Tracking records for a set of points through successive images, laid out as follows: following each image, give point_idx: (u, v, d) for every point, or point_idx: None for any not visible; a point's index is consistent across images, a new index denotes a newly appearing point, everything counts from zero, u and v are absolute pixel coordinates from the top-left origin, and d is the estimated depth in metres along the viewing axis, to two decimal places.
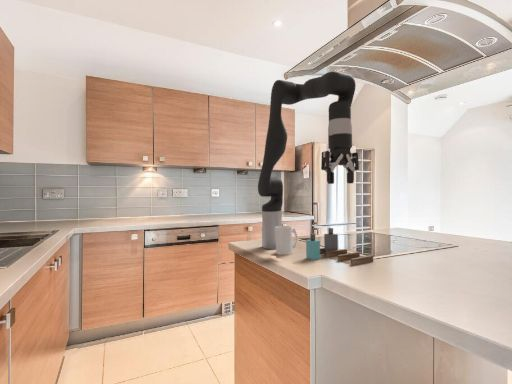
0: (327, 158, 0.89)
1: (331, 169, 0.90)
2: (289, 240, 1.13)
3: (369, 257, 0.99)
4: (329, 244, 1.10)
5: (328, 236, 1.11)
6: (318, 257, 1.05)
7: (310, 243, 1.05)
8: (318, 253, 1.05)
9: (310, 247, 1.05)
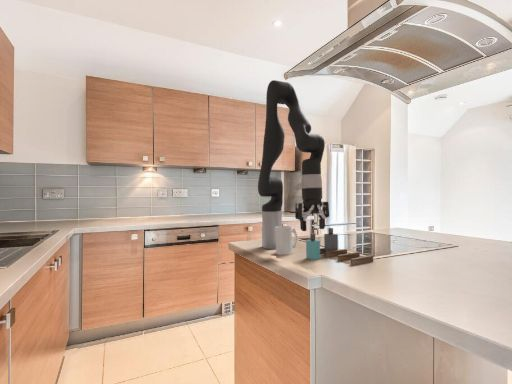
0: (300, 209, 1.02)
1: (303, 219, 1.03)
2: (289, 240, 1.13)
3: (369, 257, 0.99)
4: (329, 244, 1.10)
5: (328, 236, 1.11)
6: (318, 257, 1.05)
7: (310, 243, 1.05)
8: (318, 253, 1.05)
9: (310, 247, 1.05)
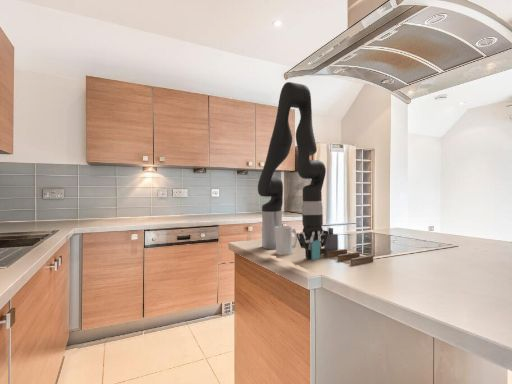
0: (302, 240, 1.03)
1: (309, 248, 1.04)
2: (289, 240, 1.13)
3: (369, 257, 0.99)
4: (329, 244, 1.10)
5: (328, 236, 1.11)
6: (318, 257, 1.05)
7: None
8: (318, 253, 1.05)
9: None
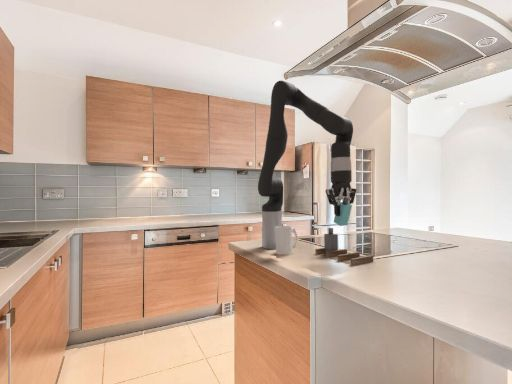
0: (332, 195, 1.03)
1: (338, 204, 1.04)
2: (289, 240, 1.13)
3: (369, 257, 0.99)
4: (329, 244, 1.10)
5: (328, 236, 1.11)
6: (346, 221, 1.06)
7: (342, 207, 1.04)
8: (347, 217, 1.05)
9: (341, 210, 1.04)
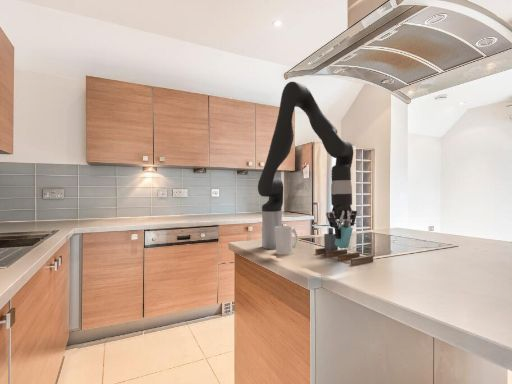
0: (333, 219, 1.03)
1: (338, 227, 1.04)
2: (289, 240, 1.13)
3: (369, 257, 0.99)
4: (329, 244, 1.10)
5: (328, 236, 1.11)
6: (347, 243, 1.06)
7: (343, 230, 1.04)
8: (348, 240, 1.05)
9: (341, 233, 1.04)
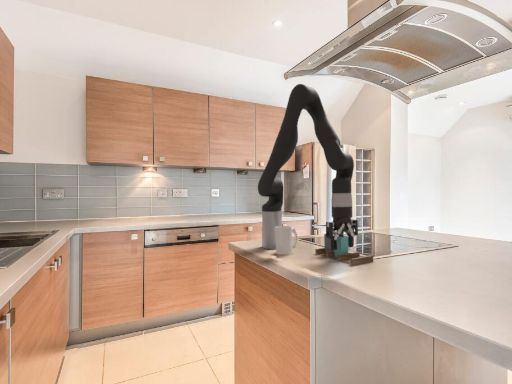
0: (331, 229, 1.02)
1: (334, 238, 1.03)
2: (289, 240, 1.13)
3: (369, 257, 0.99)
4: (329, 244, 1.10)
5: None
6: (346, 253, 1.06)
7: (339, 239, 1.05)
8: (346, 249, 1.06)
9: (338, 243, 1.06)
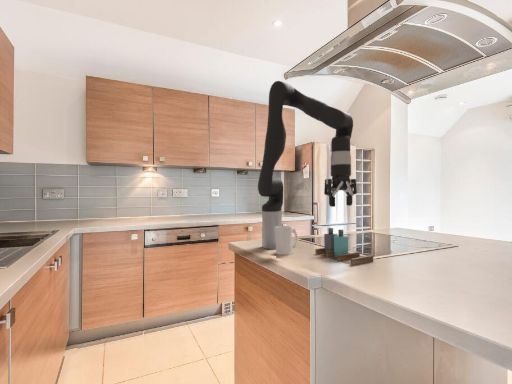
0: (329, 185, 1.04)
1: (333, 194, 1.05)
2: (289, 240, 1.13)
3: (369, 257, 0.99)
4: (329, 244, 1.10)
5: (328, 236, 1.11)
6: (346, 253, 1.06)
7: (339, 239, 1.06)
8: (346, 249, 1.06)
9: (338, 243, 1.06)
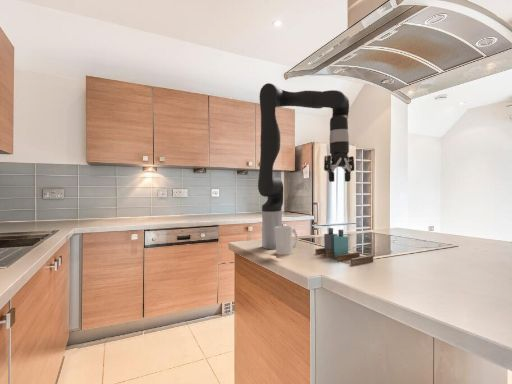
0: (329, 161, 1.11)
1: (332, 170, 1.12)
2: (289, 240, 1.13)
3: (369, 257, 0.99)
4: (329, 244, 1.10)
5: (328, 236, 1.11)
6: (346, 253, 1.06)
7: (339, 239, 1.06)
8: (346, 249, 1.06)
9: (338, 243, 1.06)
